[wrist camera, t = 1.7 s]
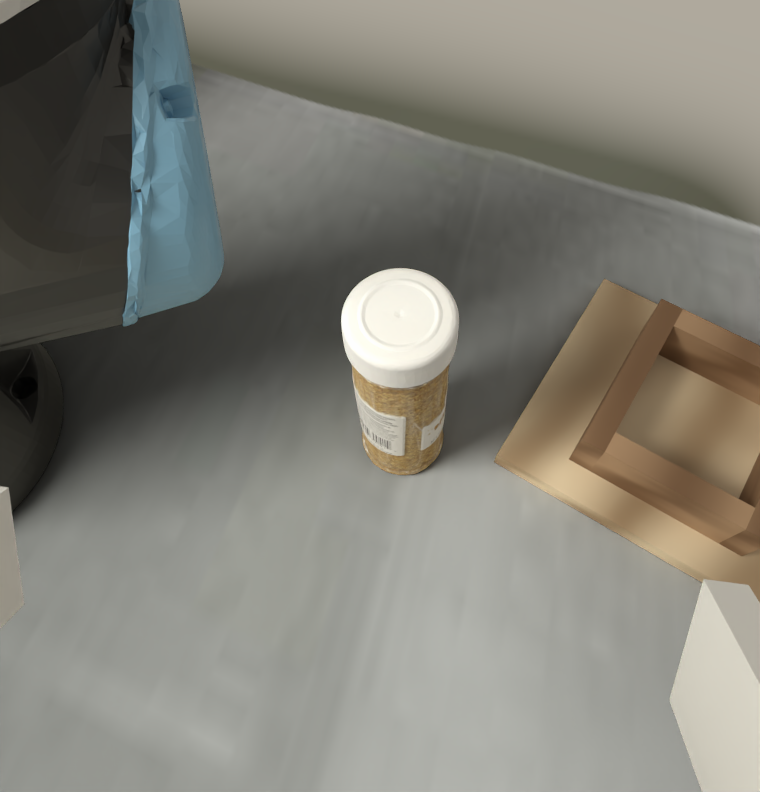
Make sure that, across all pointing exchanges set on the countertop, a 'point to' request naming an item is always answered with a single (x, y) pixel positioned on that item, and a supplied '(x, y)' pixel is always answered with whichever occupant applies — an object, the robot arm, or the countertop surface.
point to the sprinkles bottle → (400, 364)
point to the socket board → (652, 434)
